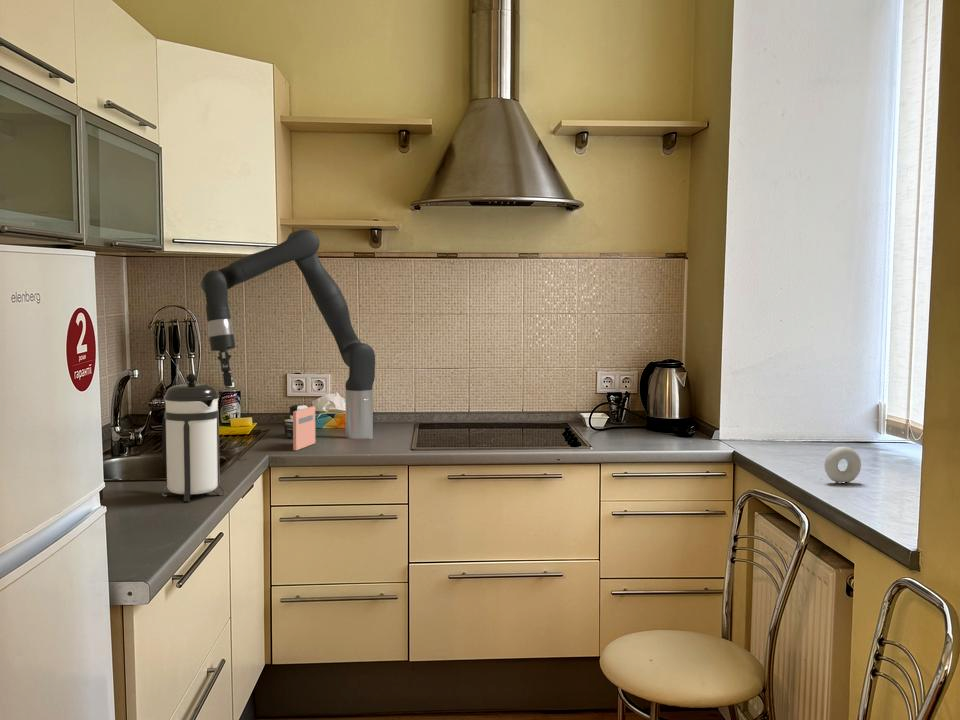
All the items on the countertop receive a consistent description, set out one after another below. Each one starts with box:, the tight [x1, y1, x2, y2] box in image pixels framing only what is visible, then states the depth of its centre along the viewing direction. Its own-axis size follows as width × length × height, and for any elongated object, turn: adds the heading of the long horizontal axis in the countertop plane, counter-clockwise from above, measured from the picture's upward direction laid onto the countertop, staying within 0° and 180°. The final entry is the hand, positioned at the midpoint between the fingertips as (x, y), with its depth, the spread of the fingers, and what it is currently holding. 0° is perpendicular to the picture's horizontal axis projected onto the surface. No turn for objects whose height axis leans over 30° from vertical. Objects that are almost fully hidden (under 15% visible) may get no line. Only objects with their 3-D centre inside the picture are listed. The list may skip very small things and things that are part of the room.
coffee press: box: [160, 373, 226, 503], centre depth 210 cm, size 17×16×30 cm
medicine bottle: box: [283, 404, 309, 440], centre depth 292 cm, size 7×7×12 cm
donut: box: [824, 446, 862, 483], centre depth 229 cm, size 10×4×10 cm, turn 98°
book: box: [292, 405, 316, 451], centre depth 272 cm, size 14×1×12 cm, turn 166°
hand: (228, 386), depth 268 cm, fingers open, 8 cm apart
